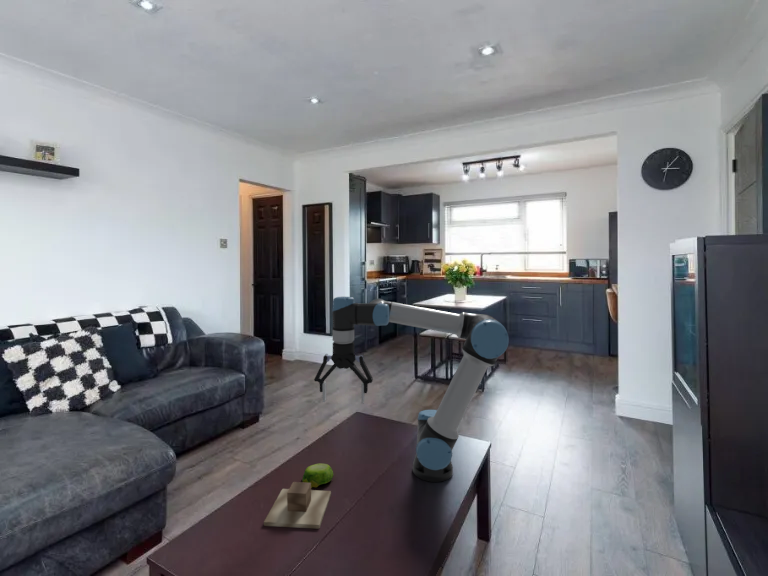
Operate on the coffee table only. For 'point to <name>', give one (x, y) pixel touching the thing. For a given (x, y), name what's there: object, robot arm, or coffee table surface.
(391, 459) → the coffee table surface
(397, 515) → the coffee table surface
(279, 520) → the oak board
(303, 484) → the walnut cube
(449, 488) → the coffee table surface
